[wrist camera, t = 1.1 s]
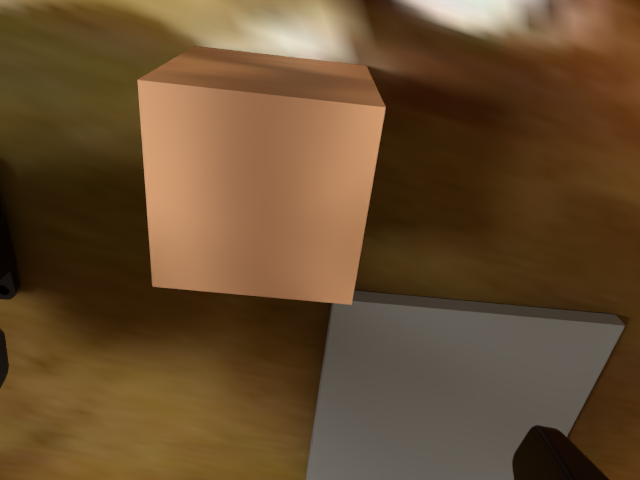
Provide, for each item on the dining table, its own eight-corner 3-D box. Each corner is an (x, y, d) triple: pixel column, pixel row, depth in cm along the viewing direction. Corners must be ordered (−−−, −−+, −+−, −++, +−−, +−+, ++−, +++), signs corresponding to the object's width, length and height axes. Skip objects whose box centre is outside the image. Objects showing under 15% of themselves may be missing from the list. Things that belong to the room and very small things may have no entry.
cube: (197, 202, 20) (152, 286, 14) (195, 45, 17) (137, 79, 12) (344, 216, 20) (351, 304, 15) (366, 65, 17) (386, 107, 12)
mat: (306, 474, 28) (305, 487, 27) (333, 288, 22) (334, 299, 21) (526, 490, 29) (531, 503, 28) (615, 314, 22) (625, 325, 22)
